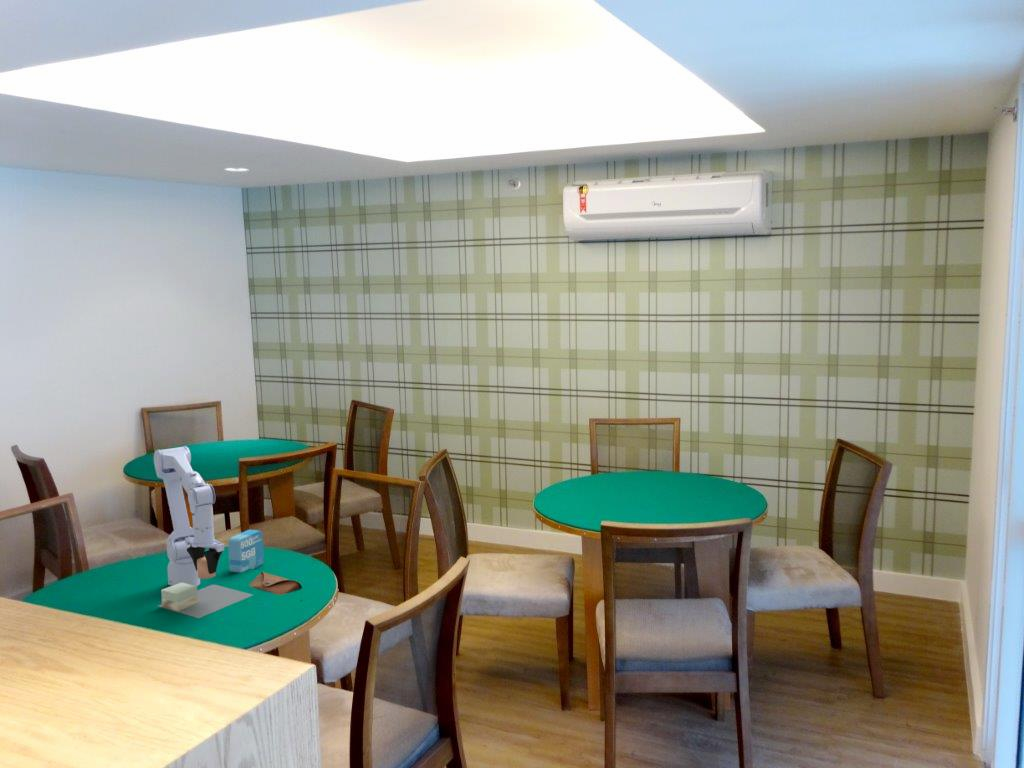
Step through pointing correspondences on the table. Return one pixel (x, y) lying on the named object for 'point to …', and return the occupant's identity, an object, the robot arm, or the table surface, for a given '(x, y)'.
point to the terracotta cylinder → (203, 569)
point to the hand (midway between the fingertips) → (206, 571)
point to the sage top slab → (179, 592)
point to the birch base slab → (180, 603)
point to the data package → (246, 551)
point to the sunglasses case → (274, 584)
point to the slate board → (212, 600)
